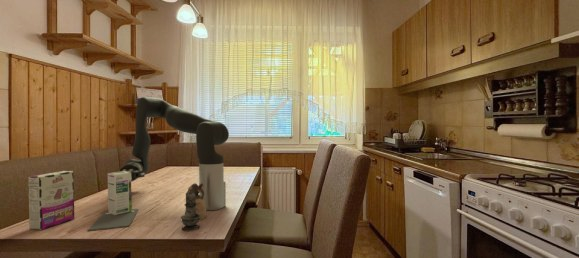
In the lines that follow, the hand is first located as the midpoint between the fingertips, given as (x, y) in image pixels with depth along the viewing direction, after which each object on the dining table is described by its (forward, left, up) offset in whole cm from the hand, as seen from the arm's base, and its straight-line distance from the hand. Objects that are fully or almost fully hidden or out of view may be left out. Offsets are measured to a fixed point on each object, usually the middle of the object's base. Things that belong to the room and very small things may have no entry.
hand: (123, 177), depth 110 cm
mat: (+7, +10, -12) cm, 18 cm away
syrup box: (+3, +5, -12) cm, 13 cm away
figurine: (-9, +32, -12) cm, 35 cm away
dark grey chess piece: (-2, +39, -12) cm, 41 cm away
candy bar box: (+21, -1, -12) cm, 25 cm away
